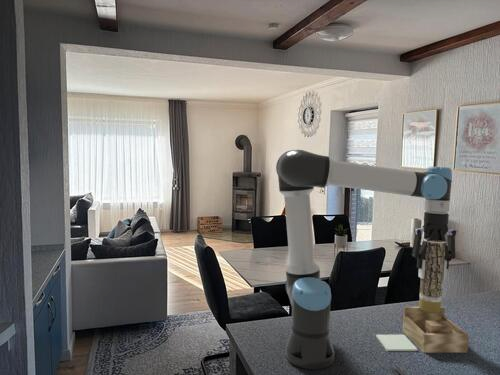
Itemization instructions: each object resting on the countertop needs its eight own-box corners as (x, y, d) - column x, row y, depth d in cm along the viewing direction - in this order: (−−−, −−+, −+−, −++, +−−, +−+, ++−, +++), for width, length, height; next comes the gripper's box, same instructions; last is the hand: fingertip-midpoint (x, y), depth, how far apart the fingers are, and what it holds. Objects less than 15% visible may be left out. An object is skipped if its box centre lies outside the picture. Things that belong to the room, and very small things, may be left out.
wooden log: (442, 315, 126) (448, 242, 124) (421, 312, 127) (426, 240, 125) (437, 307, 132) (442, 238, 130) (416, 305, 134) (421, 236, 132)
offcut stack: (426, 350, 122) (428, 326, 121) (420, 344, 126) (422, 320, 125) (459, 350, 122) (461, 326, 121) (452, 344, 126) (454, 320, 125)
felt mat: (387, 351, 121) (387, 349, 121) (375, 336, 131) (375, 334, 131) (417, 351, 121) (417, 349, 121) (403, 336, 131) (403, 334, 131)
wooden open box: (423, 352, 120) (424, 325, 119) (402, 330, 135) (403, 306, 134) (467, 352, 121) (469, 325, 120) (442, 330, 136) (443, 306, 135)
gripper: (413, 213, 123) (408, 281, 125) (471, 214, 124) (466, 282, 125) (403, 209, 130) (399, 273, 132) (458, 211, 131) (453, 274, 133)
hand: (431, 277), depth 129 cm, fingers closed on wooden log, 7 cm apart
